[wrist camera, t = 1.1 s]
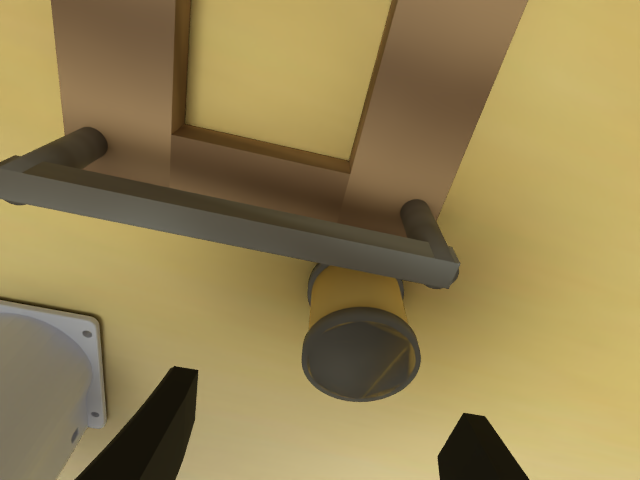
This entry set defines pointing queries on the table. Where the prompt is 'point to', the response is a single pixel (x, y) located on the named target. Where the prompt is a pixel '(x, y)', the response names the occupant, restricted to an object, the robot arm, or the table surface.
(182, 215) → the brown piece
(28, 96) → the table surface
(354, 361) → the cord reel
